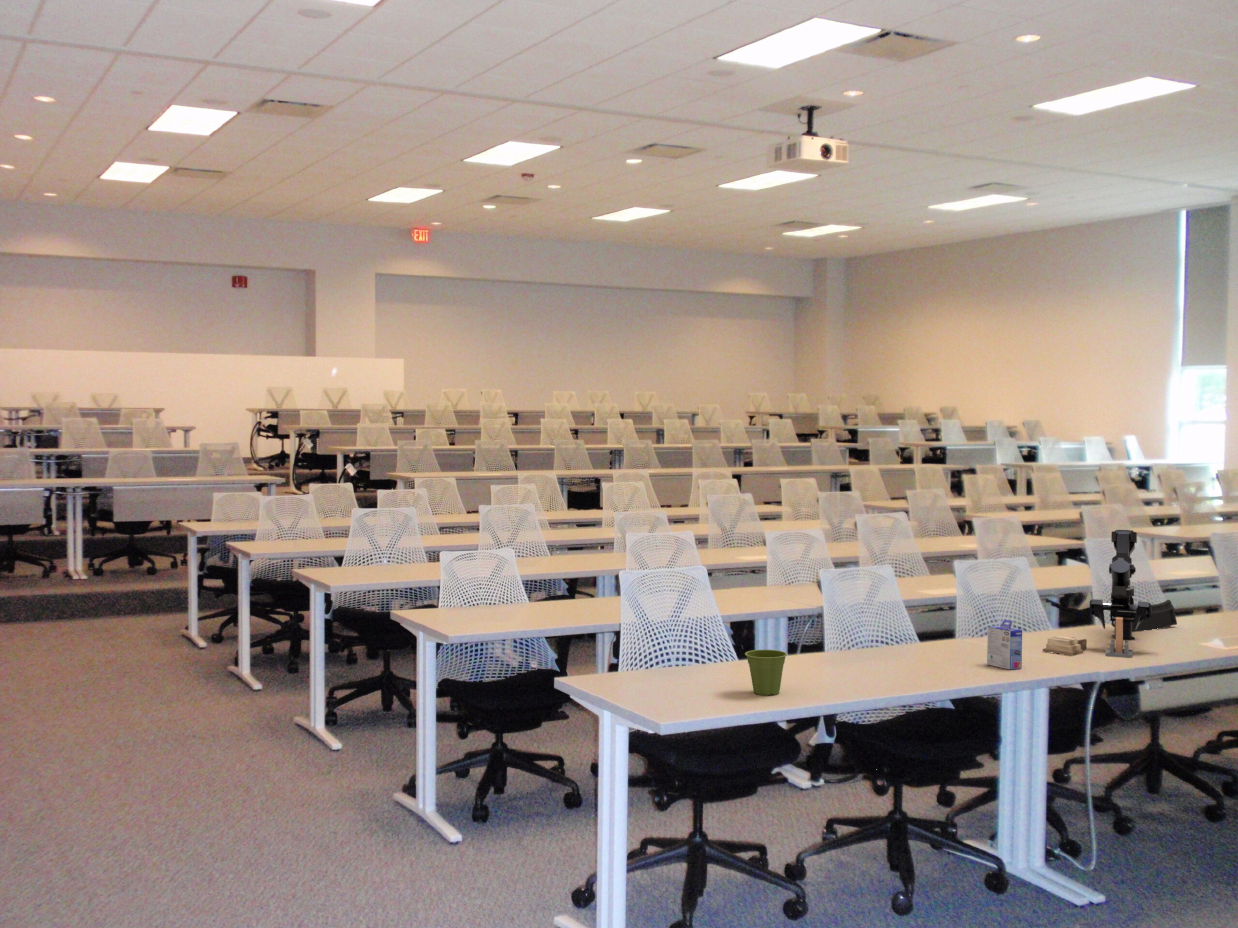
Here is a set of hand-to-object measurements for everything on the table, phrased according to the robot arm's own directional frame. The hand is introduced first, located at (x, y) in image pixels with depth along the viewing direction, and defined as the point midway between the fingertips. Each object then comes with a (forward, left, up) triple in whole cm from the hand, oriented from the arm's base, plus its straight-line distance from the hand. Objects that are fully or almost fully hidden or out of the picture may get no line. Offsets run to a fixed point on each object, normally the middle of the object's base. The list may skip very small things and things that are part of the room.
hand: (1119, 628), depth 376 cm
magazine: (-53, +22, -9) cm, 58 cm away
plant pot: (+76, -113, -9) cm, 136 cm away
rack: (-3, -15, -8) cm, 18 cm away
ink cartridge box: (+27, -41, -9) cm, 50 cm away
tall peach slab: (0, 0, -7) cm, 7 cm away
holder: (0, 0, -8) cm, 8 cm away
